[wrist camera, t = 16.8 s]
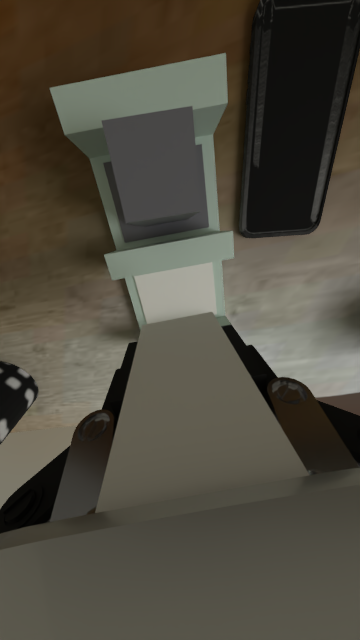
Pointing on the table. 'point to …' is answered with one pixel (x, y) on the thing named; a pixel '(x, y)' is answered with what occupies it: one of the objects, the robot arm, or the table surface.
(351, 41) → the phone
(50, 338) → the table surface
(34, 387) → the white-spotted black cylinder
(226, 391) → the offwhite plug
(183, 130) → the charcoal plug
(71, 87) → the rack
